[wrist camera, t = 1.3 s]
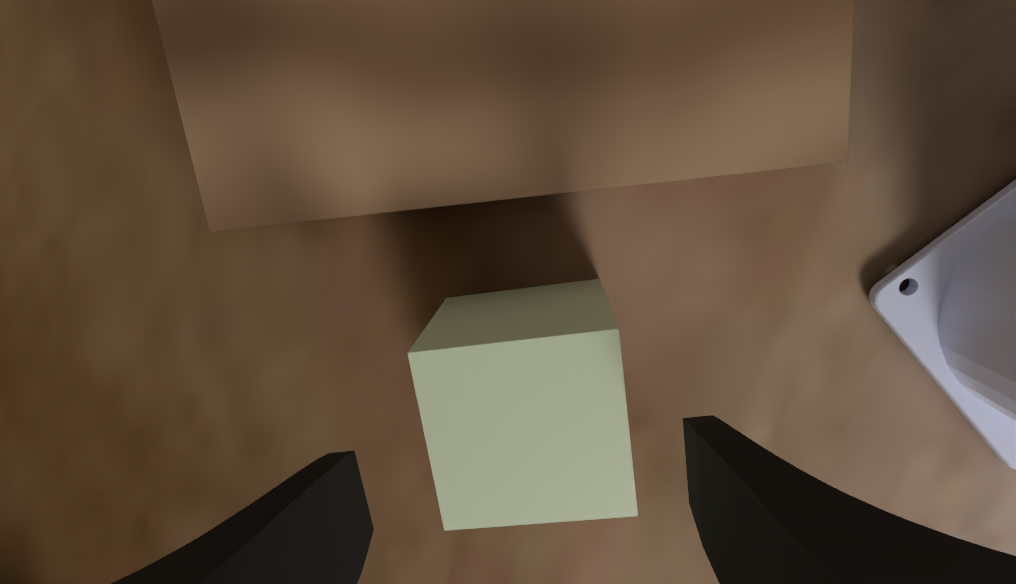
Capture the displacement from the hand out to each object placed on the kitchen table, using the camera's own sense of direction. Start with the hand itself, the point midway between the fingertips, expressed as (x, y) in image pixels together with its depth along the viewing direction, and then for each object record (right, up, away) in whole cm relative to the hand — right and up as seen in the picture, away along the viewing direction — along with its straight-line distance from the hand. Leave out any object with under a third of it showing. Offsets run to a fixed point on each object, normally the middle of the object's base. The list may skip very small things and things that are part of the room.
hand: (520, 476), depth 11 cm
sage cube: (+1, +2, +6) cm, 7 cm away
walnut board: (-1, +11, +4) cm, 12 cm away
